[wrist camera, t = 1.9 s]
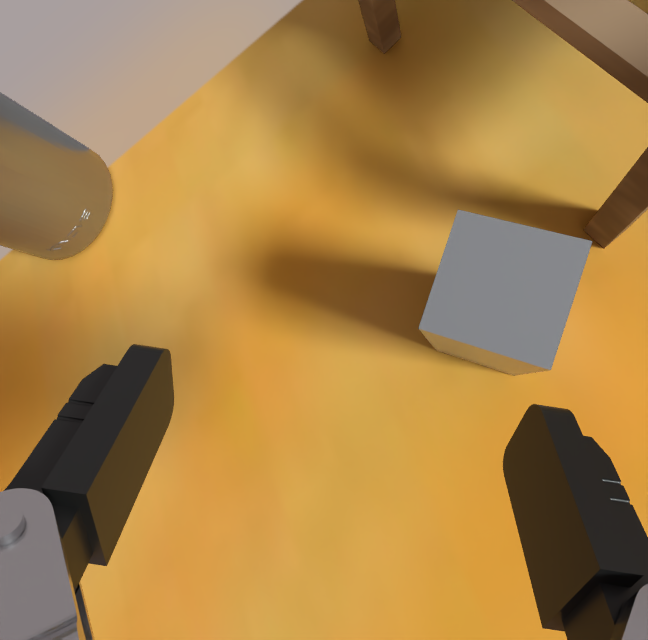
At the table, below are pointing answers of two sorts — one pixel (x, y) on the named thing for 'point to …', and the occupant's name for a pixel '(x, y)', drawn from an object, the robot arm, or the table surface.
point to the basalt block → (503, 293)
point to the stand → (599, 46)
